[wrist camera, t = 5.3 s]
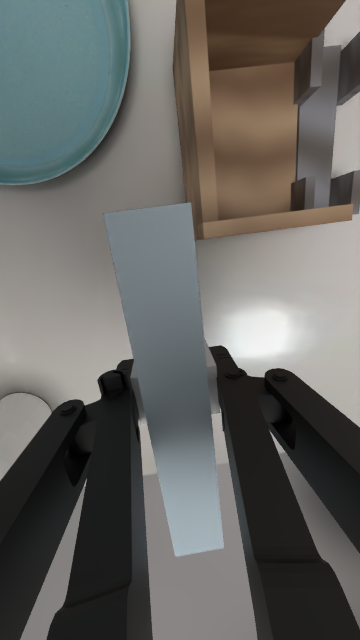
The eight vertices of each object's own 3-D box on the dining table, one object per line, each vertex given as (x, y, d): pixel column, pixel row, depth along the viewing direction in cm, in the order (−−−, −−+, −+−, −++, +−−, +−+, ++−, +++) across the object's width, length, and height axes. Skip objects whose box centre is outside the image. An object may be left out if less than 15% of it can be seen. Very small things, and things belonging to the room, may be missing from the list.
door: (135, 228, 15) (102, 213, 7) (173, 223, 15) (191, 202, 7) (168, 424, 20) (175, 556, 12) (197, 420, 20) (223, 547, 12)
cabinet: (172, 67, 23) (180, -57, 13) (346, 48, 23) (473, -84, 14) (190, 240, 28) (204, 239, 18) (332, 221, 28) (416, 211, 19)
